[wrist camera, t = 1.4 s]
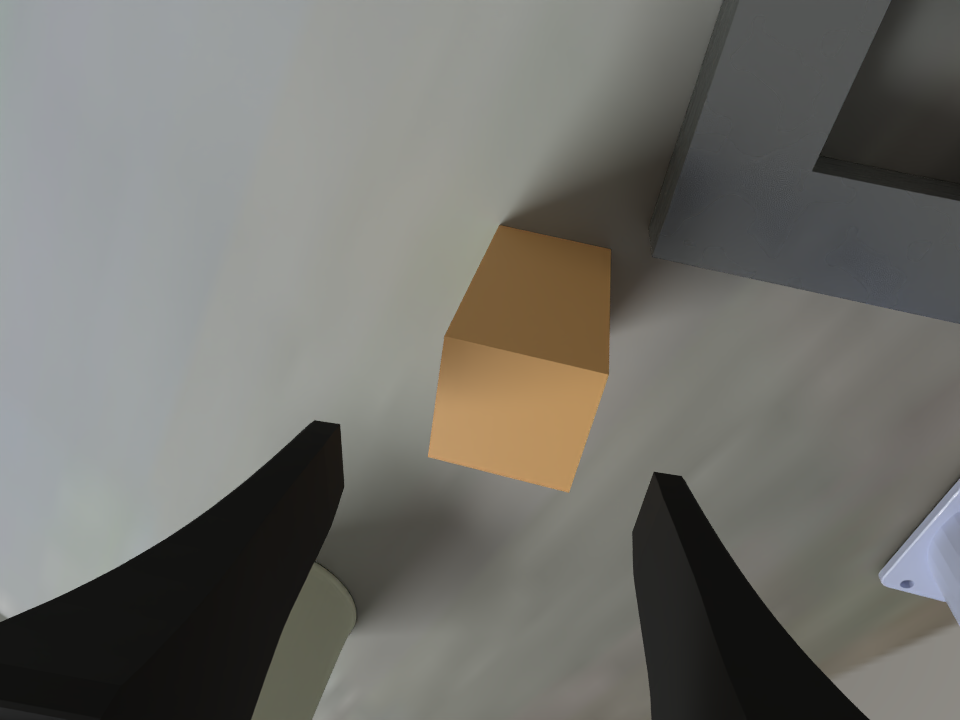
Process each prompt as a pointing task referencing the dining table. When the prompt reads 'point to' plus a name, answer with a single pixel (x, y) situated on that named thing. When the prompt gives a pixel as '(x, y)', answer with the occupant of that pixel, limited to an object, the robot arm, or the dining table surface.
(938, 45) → the dining table surface
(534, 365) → the tan cardboard box
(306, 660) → the can
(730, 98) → the bracket head
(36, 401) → the dining table surface
